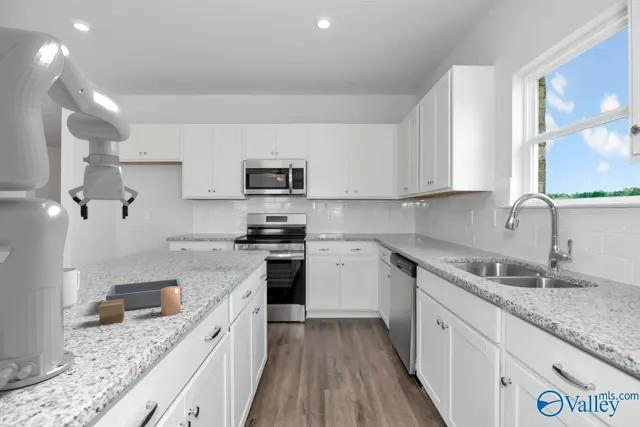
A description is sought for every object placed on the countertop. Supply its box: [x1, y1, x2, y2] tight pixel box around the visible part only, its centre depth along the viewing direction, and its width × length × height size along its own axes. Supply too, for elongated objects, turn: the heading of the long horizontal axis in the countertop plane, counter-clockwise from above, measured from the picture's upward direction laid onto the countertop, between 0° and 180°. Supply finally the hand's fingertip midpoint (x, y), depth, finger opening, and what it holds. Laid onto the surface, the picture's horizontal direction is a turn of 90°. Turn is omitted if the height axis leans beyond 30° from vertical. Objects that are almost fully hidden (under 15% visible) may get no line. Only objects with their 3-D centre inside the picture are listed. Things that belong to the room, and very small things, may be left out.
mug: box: [63, 267, 81, 310], centre depth 96 cm, size 12×9×11 cm
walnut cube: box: [98, 299, 125, 327], centre depth 83 cm, size 5×5×5 cm
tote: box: [105, 278, 183, 312], centre depth 100 cm, size 20×15×5 cm
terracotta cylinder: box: [160, 286, 182, 317], centre depth 89 cm, size 5×5×7 cm
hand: (105, 219), depth 94 cm, fingers open, 9 cm apart
